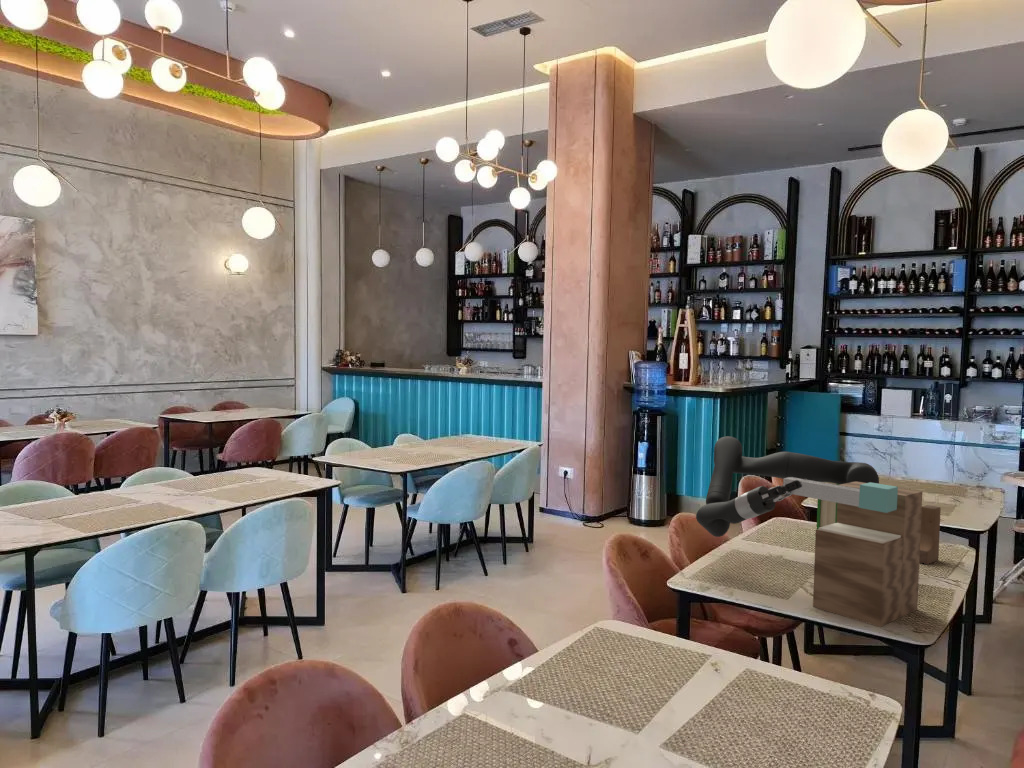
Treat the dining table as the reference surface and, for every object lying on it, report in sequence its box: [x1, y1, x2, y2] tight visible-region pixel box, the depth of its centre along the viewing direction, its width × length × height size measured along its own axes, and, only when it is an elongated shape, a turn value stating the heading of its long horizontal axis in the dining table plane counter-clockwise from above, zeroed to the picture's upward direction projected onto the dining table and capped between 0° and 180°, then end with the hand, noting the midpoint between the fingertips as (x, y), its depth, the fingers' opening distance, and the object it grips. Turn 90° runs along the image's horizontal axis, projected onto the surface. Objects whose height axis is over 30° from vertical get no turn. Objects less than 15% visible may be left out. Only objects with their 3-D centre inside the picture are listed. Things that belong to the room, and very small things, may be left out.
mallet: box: [782, 477, 899, 513], centre depth 199 cm, size 6×29×6 cm, turn 40°
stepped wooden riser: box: [812, 481, 923, 628], centre depth 198 cm, size 21×18×32 cm
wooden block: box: [919, 504, 942, 565], centre depth 244 cm, size 9×4×18 cm, turn 128°
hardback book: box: [816, 482, 840, 530], centre depth 273 cm, size 18×7×24 cm, turn 138°
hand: (803, 482), depth 206 cm, fingers closed on mallet, 4 cm apart
